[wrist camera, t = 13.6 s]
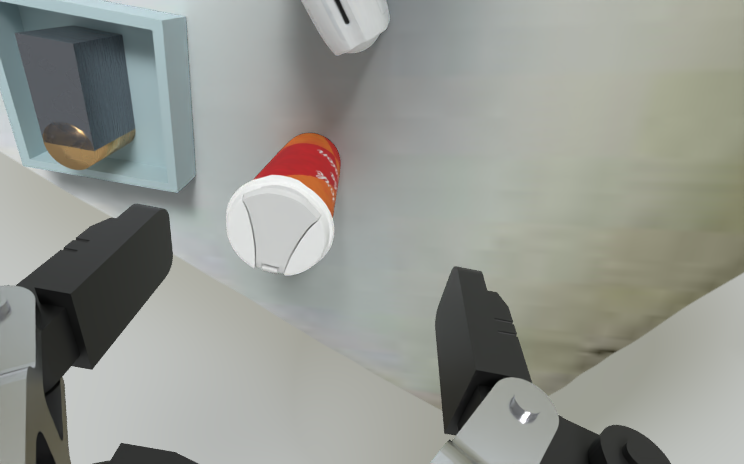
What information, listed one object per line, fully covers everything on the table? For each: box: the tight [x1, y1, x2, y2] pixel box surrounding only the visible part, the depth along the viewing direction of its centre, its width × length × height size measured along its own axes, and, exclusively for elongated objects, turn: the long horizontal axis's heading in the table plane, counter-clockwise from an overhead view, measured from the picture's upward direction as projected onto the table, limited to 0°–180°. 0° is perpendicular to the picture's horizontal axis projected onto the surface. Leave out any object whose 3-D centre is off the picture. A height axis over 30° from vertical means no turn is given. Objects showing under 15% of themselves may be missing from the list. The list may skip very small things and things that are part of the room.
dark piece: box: [15, 25, 136, 170], centre depth 34 cm, size 4×10×6 cm, turn 170°
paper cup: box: [226, 133, 340, 276], centre depth 34 cm, size 8×8×14 cm
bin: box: [0, 0, 196, 193], centre depth 35 cm, size 14×14×4 cm
